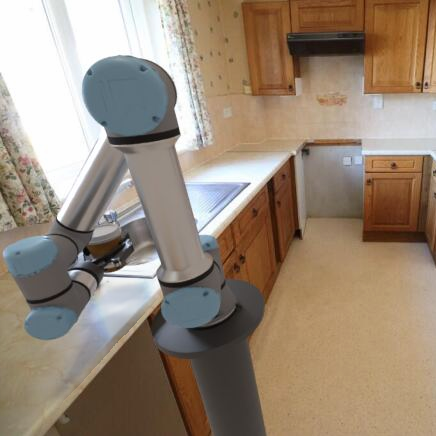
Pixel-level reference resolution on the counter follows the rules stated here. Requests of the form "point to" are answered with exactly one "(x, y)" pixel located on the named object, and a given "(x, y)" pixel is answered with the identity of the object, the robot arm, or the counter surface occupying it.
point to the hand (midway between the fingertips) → (111, 238)
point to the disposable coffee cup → (105, 241)
